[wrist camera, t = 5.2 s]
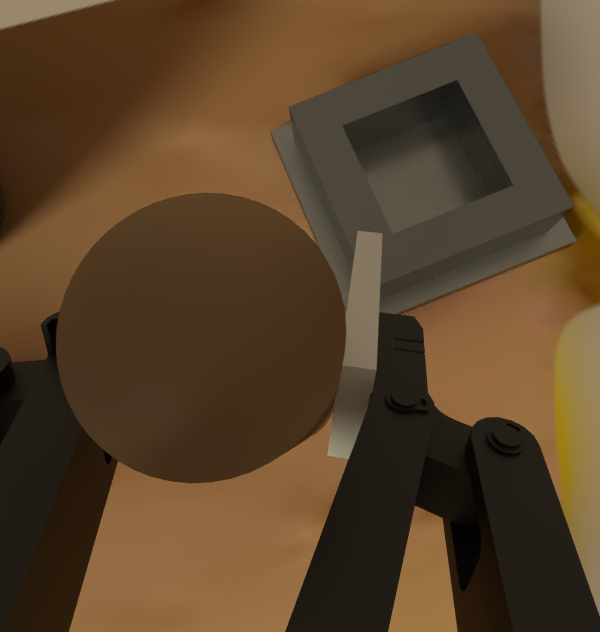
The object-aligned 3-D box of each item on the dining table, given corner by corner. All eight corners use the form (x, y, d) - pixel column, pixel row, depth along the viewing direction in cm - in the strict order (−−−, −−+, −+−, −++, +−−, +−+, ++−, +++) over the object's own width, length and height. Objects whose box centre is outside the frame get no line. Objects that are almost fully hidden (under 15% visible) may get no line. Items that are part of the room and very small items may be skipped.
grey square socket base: (272, 138, 30) (262, 97, 26) (468, 60, 30) (486, 9, 27) (354, 332, 28) (357, 317, 24) (569, 246, 28) (605, 217, 24)
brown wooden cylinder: (221, 362, 21) (22, 254, 8) (314, 325, 21) (281, 152, 8) (256, 459, 21) (104, 531, 7) (352, 420, 21) (394, 414, 7)
